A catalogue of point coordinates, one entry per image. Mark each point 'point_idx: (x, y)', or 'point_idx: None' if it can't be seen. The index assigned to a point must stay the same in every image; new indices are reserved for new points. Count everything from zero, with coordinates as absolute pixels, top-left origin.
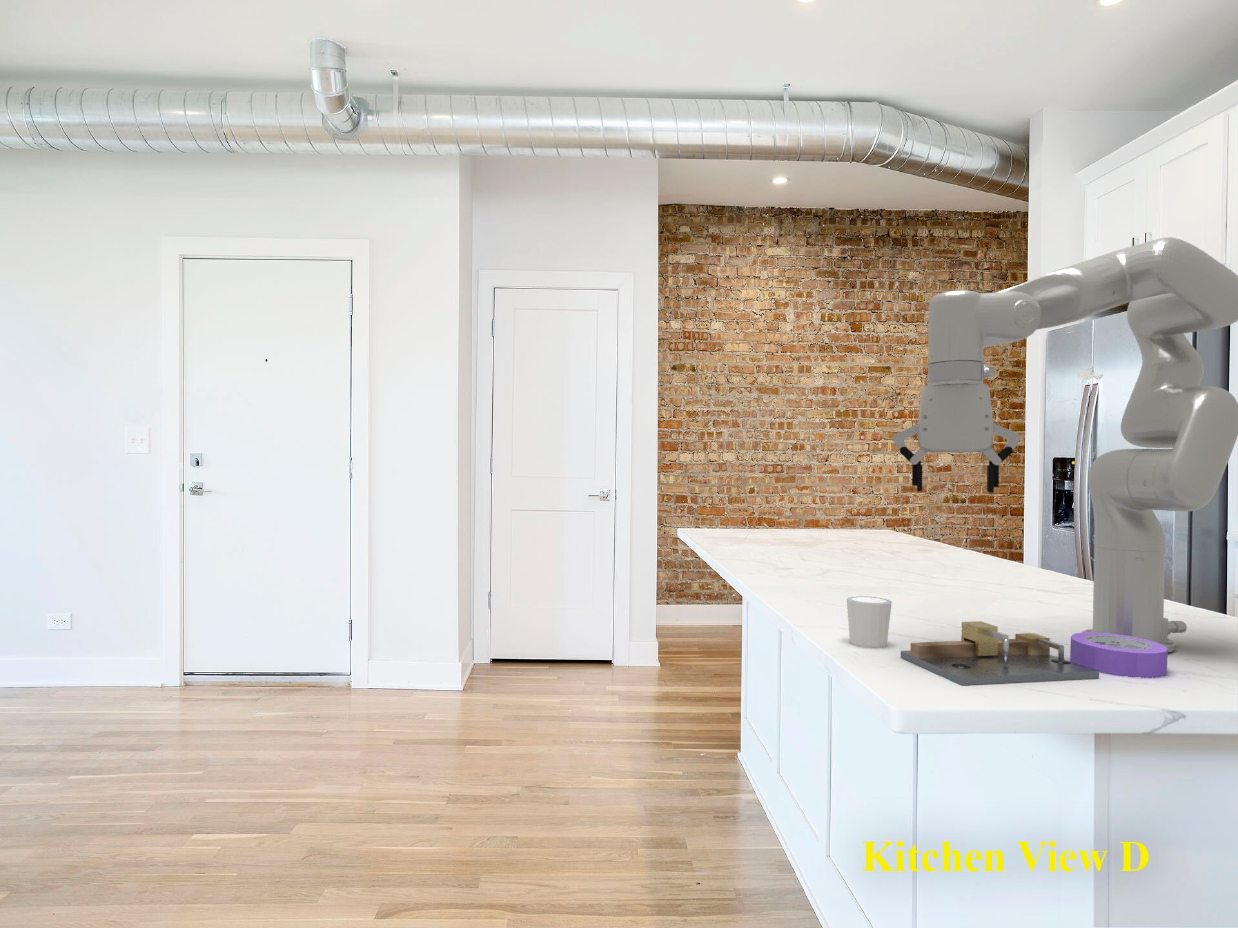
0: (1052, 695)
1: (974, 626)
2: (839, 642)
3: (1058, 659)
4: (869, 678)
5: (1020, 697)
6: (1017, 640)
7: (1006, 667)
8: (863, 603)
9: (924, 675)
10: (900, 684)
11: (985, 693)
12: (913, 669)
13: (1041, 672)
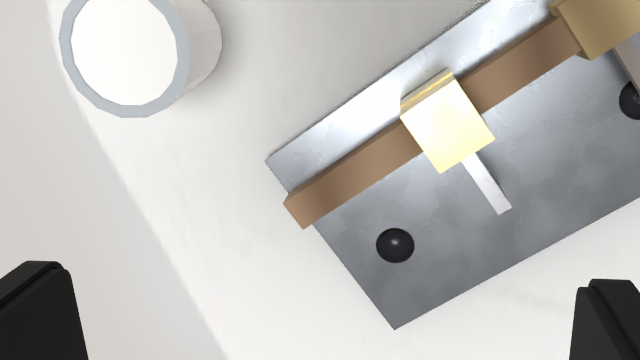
0: (555, 324)
1: (431, 160)
2: None
3: (637, 101)
4: (235, 337)
5: (492, 356)
6: (553, 46)
7: (491, 216)
8: (123, 117)
9: (325, 280)
10: (289, 353)
11: (432, 354)
12: (302, 244)
13: (563, 227)
